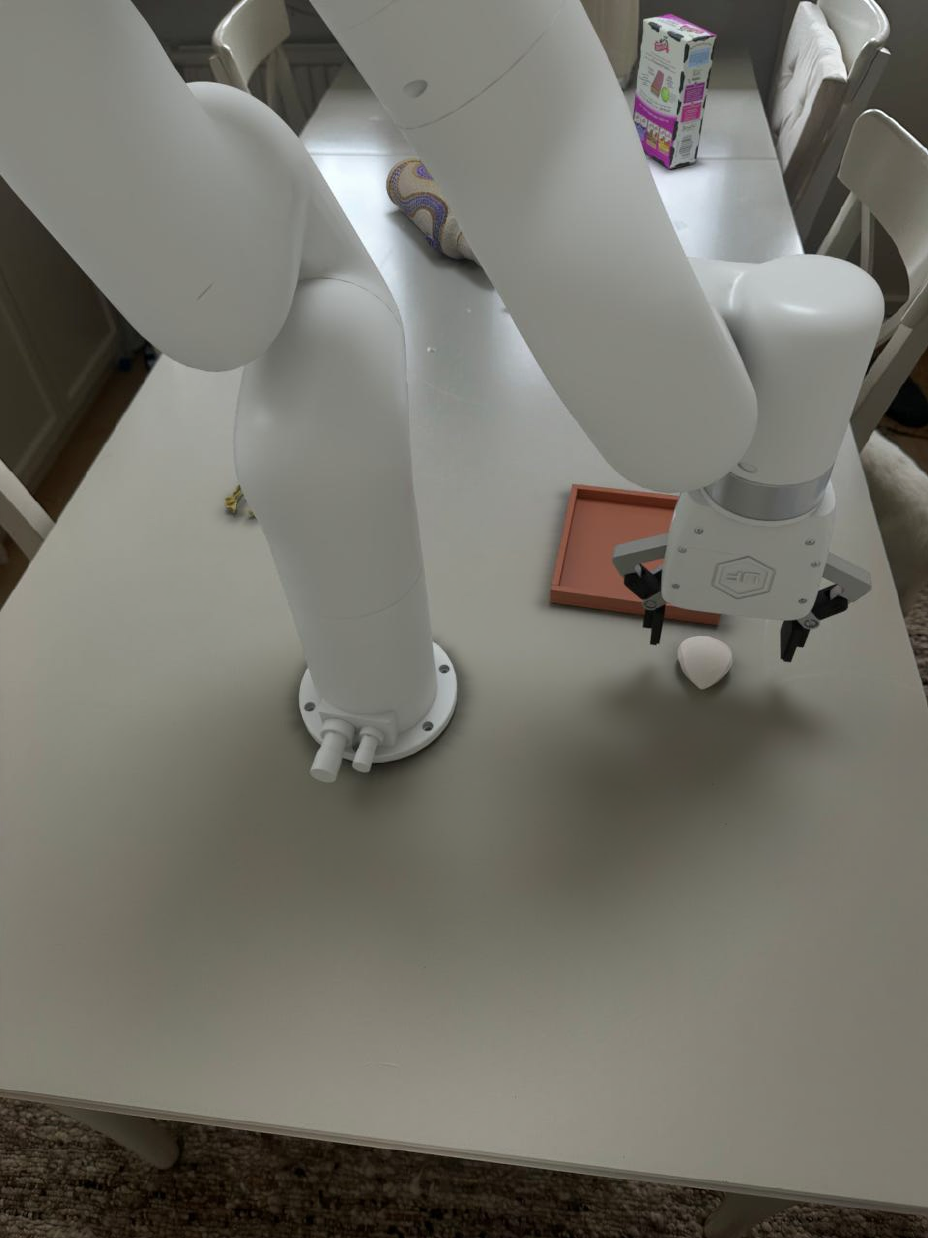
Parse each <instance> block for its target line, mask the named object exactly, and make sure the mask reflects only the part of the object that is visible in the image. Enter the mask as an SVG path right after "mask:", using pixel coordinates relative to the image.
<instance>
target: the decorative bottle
mask: <svg viewBox="0 0 928 1238" xmlns="http://www.w3.org/2000/svg"><path fill="white" fill-rule="evenodd" d="M385 190H386V193H387V196H388V199H389V200H390V202H391V203H393V205H395V206H397V207H398V209H399V210H401V211H402V212H403V213H404V214H405V215H406V216H407V217H408V219H410V221H412V222H413V224H415V226H417V228H418V229H419V230H420V231H421V232H422V233H423V234H424V235H425V237H426V240H427V242H428V243H429V245H430V247H432V248H433V249H435V250H436V251H438V252H439V253H441V254H443V255H445V256H447V257H448V258H449V259H452V260H466V259H467V260H470V261H473V262H474V263H476V264H477V266H479V267H481V268H483V267H482V266H481V264H480V263H479V261H478V259H477V258H476V256H475V255H474V253H473V252H472V250H471V248H470V246H469V244H468V242H467V241H466V239H465V237H464V235H463V233H462V231H461V229H460V227H459V225H458V223H457V221H456V219H455V217H454V215H453V213H452V211H451V209H450V207H449V205H448V203H447V201H446V199H445V197H444V195H443V193H442V192H441V190H440V188H439V186H438V185H437V184H436V182H435V181H434V179H433V178H432V176H431V175H430V173H429V172H428V170H427V169H426V167H425V166H424V164H423V163H422V161H421V160H420V159H419V158H418V157H408V158H405V159H403V160H401V161H399V162H397V163H396V164H394V165H393V167H392V168H391V169H390V170H389V172H388V174H387V177H386V181H385Z"/></svg>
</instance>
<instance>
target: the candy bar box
mask: <svg viewBox="0 0 928 1238" xmlns="http://www.w3.org/2000/svg"><path fill="white" fill-rule="evenodd" d="M717 37H718V35H717V34H714V33H713V32H710V31H708V30H707V29H705V28H702V27H700V26H698V25H696V24H694V23H692V22H689V21H687V20H685V19H683V18H681V17H678V16H677V15H674V14H672V13H668V14H662V15H657V16H652V17H648V18H643V20H642V31H641V40H640V48H639V49H640V51H639V58H638V66H637V67H638V68H637V76H636V77H637V78H636V87H635V97H634V106H633V114H632V117H633V120H634V123H635V126H636V129H637V132H638V135H639V138H640V141H641V144H642V147H643V150H644V153H645V154H646V155H648V156H649V157H651V158H652V159H654V160H656V161H657V162H659V163H660V164H662V165H663V166H664V167H666V168H668V169H670V170H671V169H676V168H679V167H685V166H688V165H692V164H695V163H696V162H697V159H698V153H699V145H700V141H701V139H700V138H701V133H702V127H703V121H704V120H703V119H704V115H705V110H706V109H705V108H706V102H707V97H708V93H709V92H708V91H709V84H710V80H711V79H710V78H711V73H712V66H713V61H714V55H715V49H716V42H717Z"/></svg>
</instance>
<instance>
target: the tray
mask: <svg viewBox="0 0 928 1238" xmlns="http://www.w3.org/2000/svg"><path fill="white" fill-rule="evenodd" d="M678 498H679V495H676V494H675V495H673V494H668V493H659V492H649V491H640V490H633V489H632V490H631V489H624V488H623V489H622V488H614V487H613V488H612V487H604V486H596V485H595V486H594V485H588V484H578V483H572V484H571V489H570V493H569V498H568V503H567V508H566V512H565V518H564V522H563V527H562V532H561V537H560V543H559V547H558V552H557V555H556V562H555V566H554V570H553V576H552V580H551V585H550V591H549V592H550V593H549V594H550V596H549V602H550V603H551V604H560V605H567V606H573V607H574V606H575V607H580V608H581V607H582V608H588V609H595V610H602V611H603V610H604V611H612V612H618V613H623V614H624V613H625V614H631V615H633V614H634V615H640V616H644V612H645V608H644V607H643V606H642V601H643V600H642V599H640V598H639V597H638V596H637V595H636V594H634V593H633V592H632V591H631V590H630V589H628V588H627V587H626V586H625V585H624V579H623V577H622V576H620V574H619V573H618V571H617V569H616V568H615V566H614V564H613V563H612V556H613V549H614V547H615V546H616V545H618V544H622V543H626V542H630V541H634V540H639V539H643V538H647V537H651V536H655V535H659V534H663V533H668V532H669V529H670V525H671V521H672V517H673V514H674V510H675V507H676V504H677V501H678ZM663 562H664V558H663V559H659V560H654V561H650V562H645V563H641V564H642V565H643V566H644V567H645V568H646V569H647V570H649V571H650V572H651V571H652V570H654V569H656V568H657V567H659V566H661V565H662V564H663ZM721 615H722V614H719V613H711V612H703V611H696V610H689V609H684V608H679V607H676V606H674V605H671V604H669V603H666V606H665V615H664V619H668V620H676V621H683V622H690V623H697V624H698V623H699V624H704V625H713V626H719V622H720V618H721Z"/></svg>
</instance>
